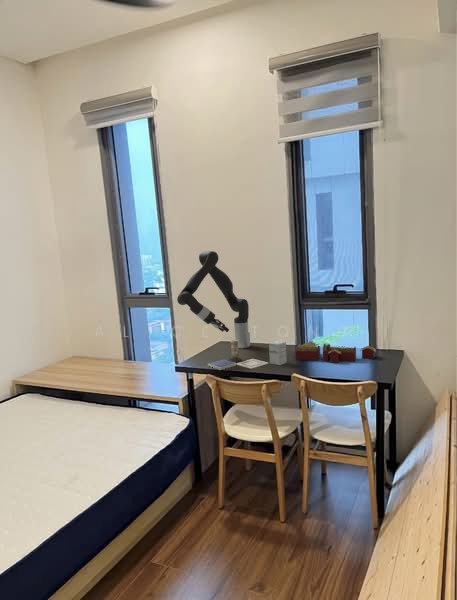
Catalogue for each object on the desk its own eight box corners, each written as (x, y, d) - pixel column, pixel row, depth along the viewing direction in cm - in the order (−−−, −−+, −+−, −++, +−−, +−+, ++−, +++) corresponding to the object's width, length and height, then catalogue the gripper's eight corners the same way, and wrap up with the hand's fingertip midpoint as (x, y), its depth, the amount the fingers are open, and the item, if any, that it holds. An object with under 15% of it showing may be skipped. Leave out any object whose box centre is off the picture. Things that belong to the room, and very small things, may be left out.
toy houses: (294, 361, 267) (294, 345, 266) (302, 352, 286) (302, 336, 285) (374, 365, 250) (373, 347, 249) (377, 355, 269) (376, 339, 267)
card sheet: (252, 359, 277) (252, 358, 277) (268, 363, 266) (268, 362, 266) (235, 364, 268) (235, 363, 268) (251, 368, 257) (250, 368, 257)
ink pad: (223, 361, 275) (223, 359, 275) (236, 365, 266) (235, 362, 266) (207, 366, 268) (207, 363, 268) (220, 370, 258) (220, 367, 258)
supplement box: (269, 363, 265) (268, 342, 264) (277, 360, 270) (276, 340, 269) (279, 365, 260) (278, 344, 258) (287, 362, 265) (286, 341, 263)
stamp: (235, 358, 281) (234, 339, 279) (241, 359, 277) (240, 340, 275) (229, 360, 278) (228, 341, 276) (234, 361, 274) (233, 342, 272)
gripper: (212, 309, 267) (233, 326, 271) (205, 310, 281) (225, 325, 285) (205, 320, 265) (226, 336, 269) (198, 319, 279) (218, 335, 283)
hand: (225, 330), depth 277 cm, fingers open, 8 cm apart
